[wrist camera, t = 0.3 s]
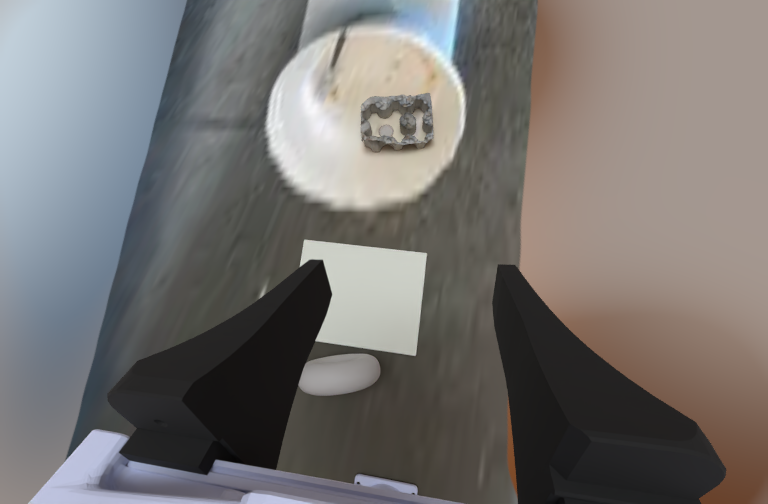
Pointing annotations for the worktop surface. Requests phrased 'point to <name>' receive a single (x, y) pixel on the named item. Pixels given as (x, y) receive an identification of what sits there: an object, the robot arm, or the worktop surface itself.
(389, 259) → the mat
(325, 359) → the donut
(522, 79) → the worktop surface
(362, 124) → the egg carton
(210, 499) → the robot arm
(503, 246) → the worktop surface
